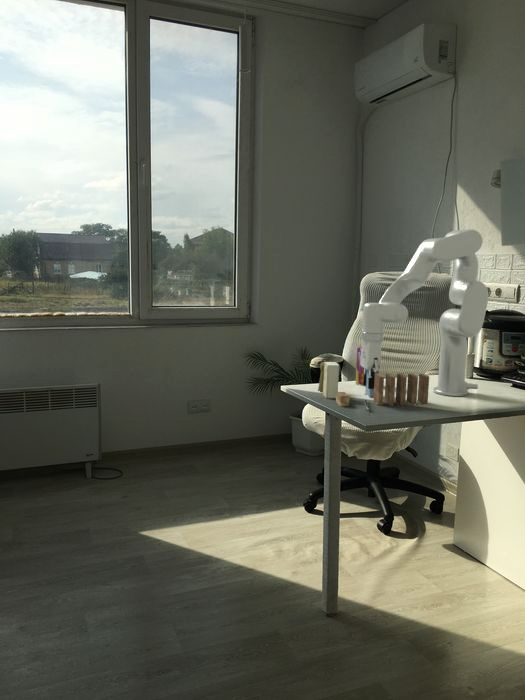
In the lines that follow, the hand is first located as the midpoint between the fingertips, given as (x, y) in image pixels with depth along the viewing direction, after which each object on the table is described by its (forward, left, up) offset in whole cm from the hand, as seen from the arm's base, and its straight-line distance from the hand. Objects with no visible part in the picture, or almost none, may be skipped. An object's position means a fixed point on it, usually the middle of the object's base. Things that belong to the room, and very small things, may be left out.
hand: (370, 386), depth 214 cm
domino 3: (-5, +11, -3) cm, 13 cm away
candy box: (-2, -19, -4) cm, 19 cm away
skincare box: (+14, +3, -4) cm, 15 cm away
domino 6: (-17, +9, -3) cm, 20 cm away
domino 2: (-1, +12, -3) cm, 12 cm away
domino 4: (-9, +10, -3) cm, 14 cm away
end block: (+11, +14, -3) cm, 18 cm away
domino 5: (-13, +10, -3) cm, 17 cm away
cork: (+15, -6, -4) cm, 17 cm away
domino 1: (0, 0, -3) cm, 3 cm away
